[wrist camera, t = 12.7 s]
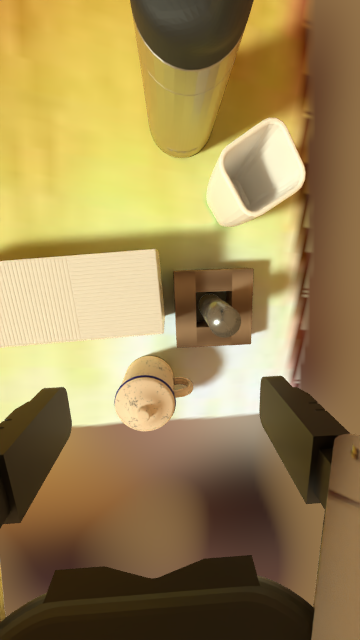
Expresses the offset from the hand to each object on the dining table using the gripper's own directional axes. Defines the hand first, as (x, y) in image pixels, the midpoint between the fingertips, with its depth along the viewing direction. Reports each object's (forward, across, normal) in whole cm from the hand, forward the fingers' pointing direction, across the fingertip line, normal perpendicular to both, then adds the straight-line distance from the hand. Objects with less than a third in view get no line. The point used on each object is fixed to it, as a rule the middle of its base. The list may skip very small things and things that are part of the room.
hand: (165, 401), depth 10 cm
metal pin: (+32, -7, +2) cm, 33 cm away
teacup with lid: (+32, +3, +15) cm, 36 cm away
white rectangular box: (+33, +17, -1) cm, 37 cm away
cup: (+32, -10, -14) cm, 37 cm away
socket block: (+32, -7, +2) cm, 33 cm away
